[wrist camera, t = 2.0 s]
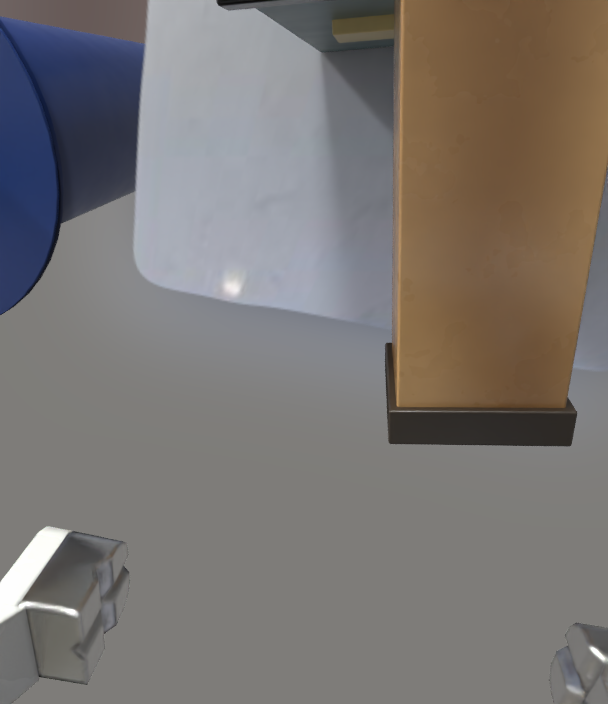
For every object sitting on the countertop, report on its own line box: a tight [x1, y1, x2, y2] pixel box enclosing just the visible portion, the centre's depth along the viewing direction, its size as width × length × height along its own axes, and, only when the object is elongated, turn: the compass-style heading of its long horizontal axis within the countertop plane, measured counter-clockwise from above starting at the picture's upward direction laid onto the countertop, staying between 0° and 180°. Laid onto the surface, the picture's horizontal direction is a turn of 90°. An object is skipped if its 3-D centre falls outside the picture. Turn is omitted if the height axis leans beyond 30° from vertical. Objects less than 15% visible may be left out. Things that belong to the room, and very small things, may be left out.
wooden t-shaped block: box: [385, 0, 608, 446], centre depth 11 cm, size 10×18×4 cm, turn 4°
